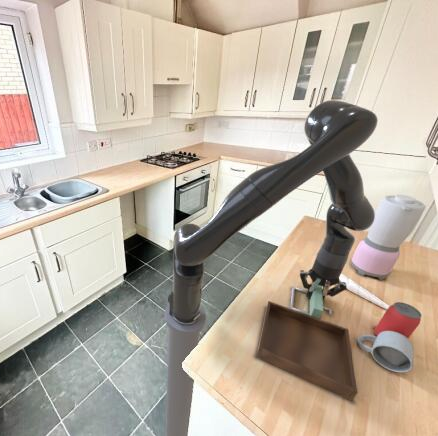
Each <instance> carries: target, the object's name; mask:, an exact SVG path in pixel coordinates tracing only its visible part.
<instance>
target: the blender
mask: <svg viewBox="0 0 438 436" xmlns="http://www.w3.org/2000/svg"><path fill="white" fill-rule="evenodd" d="M426 207H427V206H426V204H425V203H424V202H422V201H420V200H418V199H416V198H415V197H413V196H410V195H407V194H406V195H405V194H396V195H385V196H384V197H382V199H381V201H380V203H379V205H378V206H377V207H376V210H375V211H374V212H375V219H374V222H373V224H372V225H371V226H370V227H369V228H368V233H367V236H366V237H365V238H363V239H362V240H361V241H360V242H359V243H358V245H357V247H356V249H355V251H354V253H353V256H352V257H351V259H350V262H349V263H350V264H351V266H352V267H353V268H354V269H355V270H357V274H359V275H361V276H362V277H364V276H365V275H366V276H370V277H375V278H377V279H378V280H382V281H383V280H385V279H386V278H387V277H389V276H390V274H391V271H392V270H393V268H394V267H395V265H396V263H397V261H398V260H399V258H400V255H401V253H400V247H401V246H402V244H403V243H404V242H405V241H406V240H407V238H408V237H409V236H410V235H411V234H412V233H413V231H414V230H415V228H416V227H417V225H418V223H419V221H420V219H421V218H422V215H423V213H424V211H425V209H426Z"/></svg>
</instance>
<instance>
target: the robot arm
mask: <svg viewBox="0 0 438 436" xmlns="http://www.w3.org/2000/svg"><path fill="white" fill-rule="evenodd" d="M378 122H379V121H378V116H377V115H376V113H375V112H374V111H372V110H369V109H368V108H366V107H363V106H359V105H356V104H353V103H349V102H346V101H342V100H336V99H329V100H325V101H323V102H321V103H319V104H317V105H316V106H315V107H314V108H313V109H312V110H310V112H309V114H308V115H307V117H306V118H305V121H304V127H303V128H304V129H303V130H304V134H305V137H306V139H307V141H308V142H309V144H310V145H309V146H308V147H306V148H304V150H303V151H301V152H299V153H298V154H297V155H294V156H292V157H290V158H288V159H286V160H282V161H280V162H276V163H274V164H269V165H267V166H265V167H262V168H259V169H257V170H255V171H253V172H251V174H249V175H248V176H247V177H245V178H244V179H243V180H241V181H240V182H239V183H238V184H237V185H236V186H234V188H233V189H232V190H230V192H229V193H228V194H227V195H226V196H225V198H224V200H222V203H221V204H220V206H219V208H218V209H217V211H216V212H215V213H214V215H213V216H212V218H211V219H210V220H209V221H208V222H206V224H205V225H203V226H202V227H201V226H199V225H198V224H195V223H185V224H182V225H181V226H179V227H178V228H176V230H175V232H174V234H173V243H172V244H173V247H172V288H171V289H172V290H171V292H170V293H169V295H168V296H167V303H168V304H169V303H170V305H169V315H171V316H172V317H173V319H174V320H175V321H176V322H177V323H179V324H181V325H192V324H194V323H196V322H197V321H198V319H199V316H200V305H201V303H202V294H203V285H204V278H205V277H204V275H205V262H206V261H207V260H208V259H209V258H210V257H212V255H214V254H215V252H217V251H218V250H219V249H220V248H221V247H222V246H223V245H224V244H226V243H227V242H228V241H229V240H230V239H231V238H233V237H234V236H235V235H237V234H238V233H239V232H240V231H242V230H243V229H244V228H245V227H247V226H248V225H250V223H252V222H253V221H255V220H256V219H258V218H259V217H261V216H262V215H263V214H265V213H266V212H267V211H270V209H272V208H273V207H274V206H275V205H277V204H279V202H281V201H282V200H283V199H285V198H286V197H287V196H288V195H289V194H291V193H292V192H293V191H295V190H296V189H298V188H299V187H300V186H303V184H305V183H306V182H307V181H309V180H311V179H312V178H314V177H316V176H318V174H320V173H323V176H324V178H325V179H324V180H325V182H326V186H327V190H328V194H329V198H330V201H331V204H330V205H329V206H328V208H327V210H326V218H325V222H326V223H325V236H324V238H323V242H322V243H321V246H320V248H319V249H318V251H317V253H316V255H315V259H314V262H313V263H312V267H311V268H310V269H309V270H308V271H305V270H304V269H301V270H300V271H299V277H300V280H301V284H302V287H303V288H304V289H306V291H307V293H306V294H305V295H306V296H305V297H306V298H307V300H310V298H311V296H312V294H313V290H314V289H315V288H316V287H317V285H321V286H322V297H323V302H324V301H325V299H326V297H327V296H329V297H331V298H333V297H335V296H337V295H338V294H341V293H342V292H344V291H345V290H348V289H347V287H346V283H345V282H341V281H340V280H339V277H340V275H341V273H342V274H343V270H344V267H345V266H346V264H347V261H348V259H349V255H350V253H351V251H352V248H353V246H354V244H355V241H356V238H355V236H354V235H353V234H352V233H351V232H350V231H348V230H347V229H349V230H351V231H355V232H363V231H367V230H369V227H370V226H371V225H372V224H373V222H374V219H375V212H376V211H375V210H374V208H373V205H372V203H371V202H370V201H369V199H368V198H367V196H366V195H365V190H364V181H363V177H362V175H361V172H360V170H359V169H358V166H357V165H356V163H355V162H354V160H353V158H352V157H351V154H352V153H354V152H355V151H356V150H357V149H358V148H360V147H361V146H362V145H364V143H366V142H367V141H368V140H369V139H370V138H371V136H372V135H373V134H374V132H375V130H376V128H377V126H378ZM346 228H347V229H346ZM308 276H309V277H308ZM307 278H310V279H311V281H310V283H309V282H308V279H307ZM332 286H333V287H332ZM330 287H331V288H330Z"/></svg>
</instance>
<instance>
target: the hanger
mask: <svg viewBox="0 0 438 436" xmlns="http://www.w3.org/2000/svg"><path fill="white" fill-rule="evenodd" d="M322 289H323V286H321V285H317V287H316V288H315V289H314V290H313V294H312V296H311V298H310V299H309V312H307V311H305V310H302V309H299V308H295V307H294V302H295V301H294V300H295V290H296V291H300V292H302V293H307V289H303V288H299V287H296V286H294V287H292V288H291V297H290V306H289V307H290V309H293V310H295V311H298V312H301V313H304V314H307V315H310V316H312V317H315V318H318V319H321V316H322V314H323V313H324V311H325V310H326V311H328V314H329V315H330V316H331V315H333V309H331V308H329V307H327V306H324V301H323V297H322Z"/></svg>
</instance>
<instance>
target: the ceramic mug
mask: <svg viewBox="0 0 438 436" xmlns="http://www.w3.org/2000/svg"><path fill="white" fill-rule="evenodd" d="M356 341H357V345H358V347H359V348H361V350H363V351H365V352H368V353H370V354H371V356H372V358H373V360H374V361H376V363H378V364H379V365H380V366H382V367H383V368H385V369H386V370H389V371H391V372H394V373H408V372H410V371H411V370H412V369H413V367H414V355H415V348H414V345H413V342H412V341H411V340H410V338H407V337H405V336H404V335H402V334H400V333H398V332H395V331H383V332H381V333H380V334H379V335H378V336H377V335H376V336H375V335H372V334H363V335H360V336H358V337H357V340H356ZM364 341H374V342H373V345H372V347H371V346H368V345H365V344H364V343H363V342H364Z"/></svg>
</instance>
